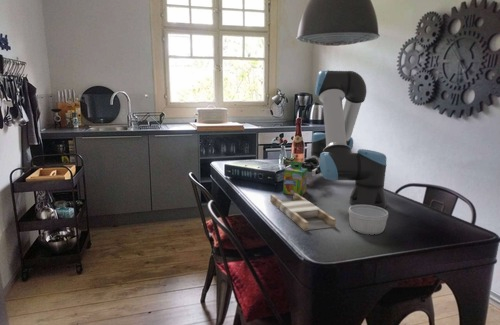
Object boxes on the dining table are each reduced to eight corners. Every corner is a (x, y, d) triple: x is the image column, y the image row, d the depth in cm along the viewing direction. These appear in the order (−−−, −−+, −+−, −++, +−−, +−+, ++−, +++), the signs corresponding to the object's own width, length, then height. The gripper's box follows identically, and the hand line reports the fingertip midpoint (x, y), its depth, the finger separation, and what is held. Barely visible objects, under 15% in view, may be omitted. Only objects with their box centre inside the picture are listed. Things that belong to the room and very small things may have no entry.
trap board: (270, 201, 150) (270, 194, 150) (295, 199, 154) (295, 192, 153) (304, 230, 120) (305, 222, 119) (335, 227, 123) (335, 219, 123)
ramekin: (342, 221, 129) (343, 204, 127) (376, 221, 130) (378, 203, 128) (355, 236, 116) (357, 217, 114) (393, 236, 117) (395, 217, 115)
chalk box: (282, 194, 161) (283, 163, 158) (288, 189, 169) (289, 159, 166) (302, 196, 158) (303, 165, 155) (306, 191, 166) (308, 161, 163)
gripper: (335, 173, 180) (323, 183, 162) (290, 168, 192) (274, 176, 173) (336, 159, 179) (324, 167, 160) (290, 154, 190) (275, 161, 171)
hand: (298, 171), depth 167 cm, fingers open, 13 cm apart
